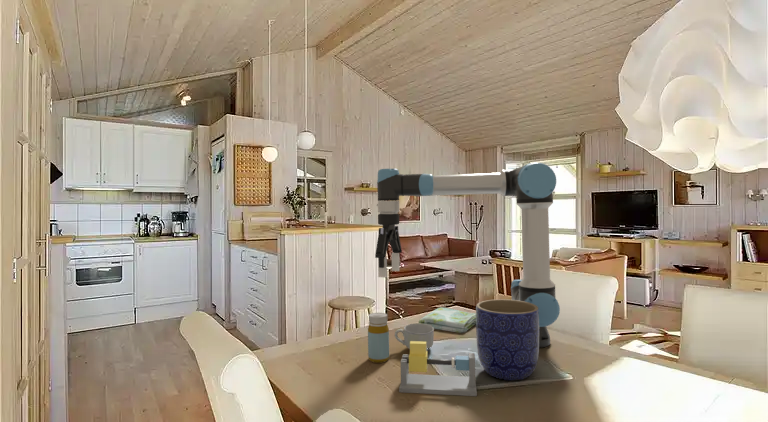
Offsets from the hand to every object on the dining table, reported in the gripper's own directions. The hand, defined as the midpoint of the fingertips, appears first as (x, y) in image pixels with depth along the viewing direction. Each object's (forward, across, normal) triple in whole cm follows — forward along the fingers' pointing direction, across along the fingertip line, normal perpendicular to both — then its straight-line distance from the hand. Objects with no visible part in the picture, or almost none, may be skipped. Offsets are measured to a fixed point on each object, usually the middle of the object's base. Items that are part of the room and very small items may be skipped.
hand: (389, 274), depth 152 cm
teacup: (+28, -5, +7) cm, 29 cm away
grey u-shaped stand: (+27, +23, +22) cm, 42 cm away
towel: (+28, -40, +13) cm, 50 cm away
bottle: (+28, +8, -1) cm, 29 cm away
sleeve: (+23, +24, +17) cm, 37 cm away
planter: (+28, +7, +40) cm, 49 cm away
